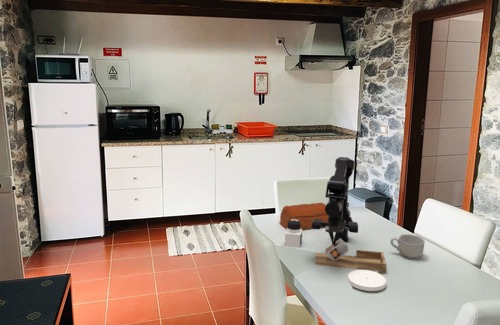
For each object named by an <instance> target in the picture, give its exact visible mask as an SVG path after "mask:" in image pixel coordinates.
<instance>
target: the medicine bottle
mask: <svg viewBox="0 0 500 325" xmlns="http://www.w3.org/2000/svg"><path fill="white" fill-rule="evenodd" d="M300 228H301V222H300V221H298V220H289V221H288V222H287V229H285V234H284V246H285V247H293V248H294V247H295V248H301V247H302V239H303V230H302V229H300Z"/></svg>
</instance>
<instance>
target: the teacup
mask: <svg viewBox="0 0 500 325" xmlns="http://www.w3.org/2000/svg"><path fill="white" fill-rule="evenodd" d="M394 241H397V244H398V246H397V245H396V244H395V243H394ZM425 244H426V240H425V239H424V238H423V237H422V236H419V235H415V234H412V233H411V234H410V233H404V234H400V235H399V237H396V236H394V237H392V238H391V239H390V245H391V246H392V247H393V248H395V249H396V251H397V252H399V254H401V255H402V256H403V257H404V258H407V259H417V258H419V257H421V256H422V255H423V253H424V249H425Z"/></svg>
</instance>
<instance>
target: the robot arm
mask: <svg viewBox="0 0 500 325" xmlns="http://www.w3.org/2000/svg"><path fill="white" fill-rule="evenodd" d="M355 166H356V162H355V160H353V159H351V158H349V157H348V156H347V157H344V156H343V157H342V156H339V157H337V158H335V163H334V168H335V172H334V175H332V176H330V178H329V181H327V183H326V189H325V198H326V199H327V198H328V202H327V203H326V204H325V205H326V207H325V212H326V214H327V215H328V222H322V219H313V220H312V230H318V231H319V230H320V229H322V228H325V232H326V233H328V235H329V237H330V241H331V245H335V243H336V241H337V240H339V239H340V238H341V239H342V240H343V241H344V243H348V242H349V232H350V233H354V234H358V233H359V224H358V222H357V221H354V220H353V218H352V216H351V211H350V209H349V208H348V203H349V188H350V186H349V184H350V178H351V176H352V175H353V172H354V171H355ZM321 227H322V228H321Z"/></svg>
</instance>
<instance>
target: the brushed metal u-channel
mask: <svg viewBox="0 0 500 325" xmlns="http://www.w3.org/2000/svg"><path fill="white" fill-rule="evenodd" d="M333 250H335V251H337V253H338V255H337V257H333V256H332V255H331V251H333ZM348 253H349V246H348V245H347V244H346V242H344V241H343V240H342V239H341V238H340V239H339V240H337V241H336V243H335V245H332V244H331V245H330V246H329V245H328V247H326V249H325V254H326V255H327V256H328V257H329V258H330V259H331V260H332V262H333V263H334V262H335V261H336V260H338V259H339V258H341V257H342V256H343V255H346V254H348Z"/></svg>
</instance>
